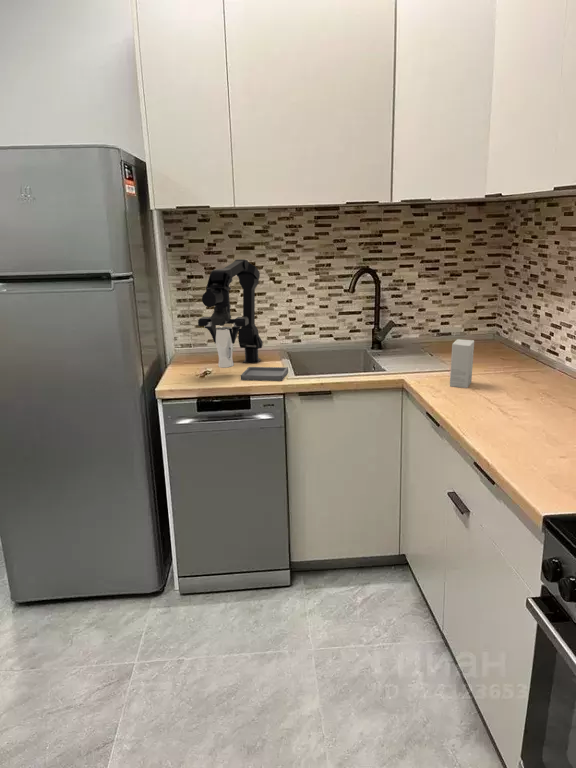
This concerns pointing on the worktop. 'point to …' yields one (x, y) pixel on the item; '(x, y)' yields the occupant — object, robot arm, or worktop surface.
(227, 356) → the beer glass
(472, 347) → the skincare box
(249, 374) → the drip tray
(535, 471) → the worktop surface
